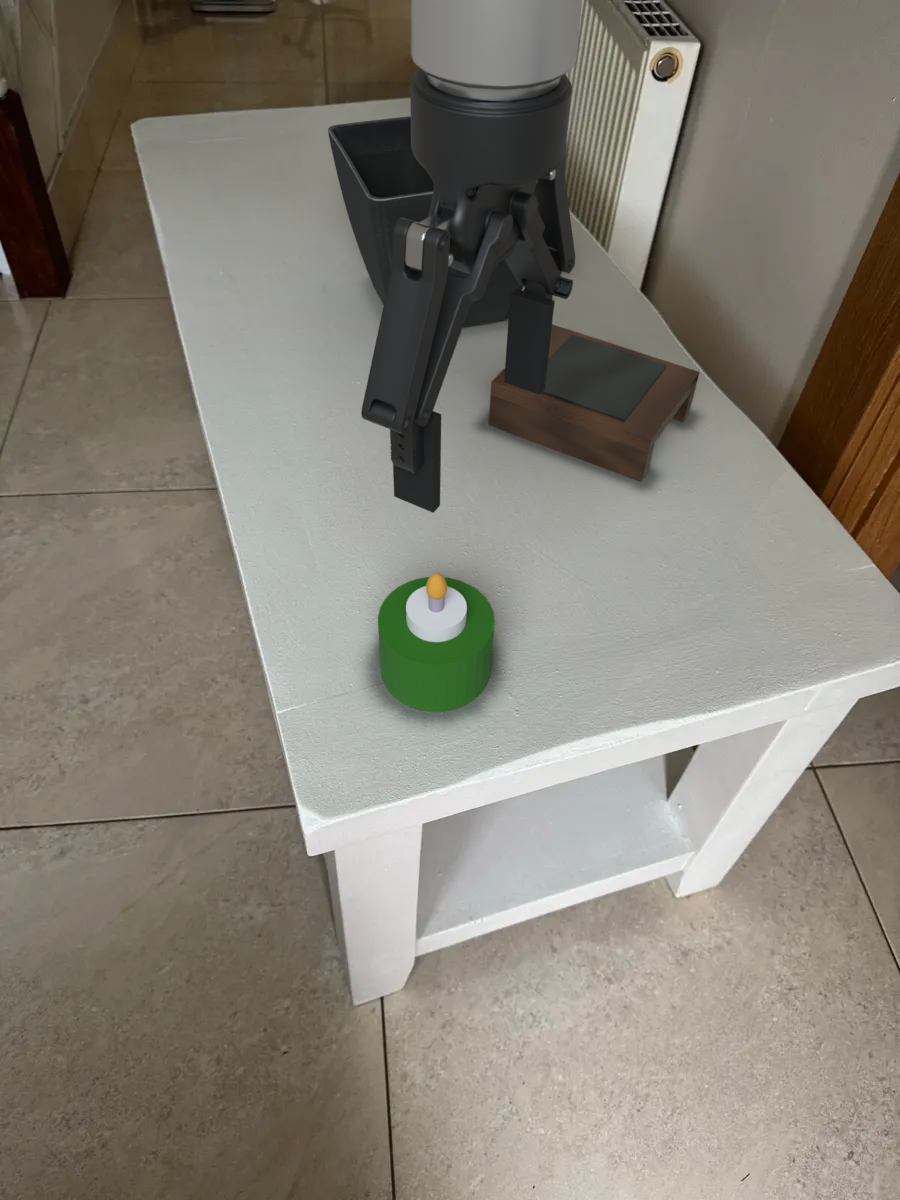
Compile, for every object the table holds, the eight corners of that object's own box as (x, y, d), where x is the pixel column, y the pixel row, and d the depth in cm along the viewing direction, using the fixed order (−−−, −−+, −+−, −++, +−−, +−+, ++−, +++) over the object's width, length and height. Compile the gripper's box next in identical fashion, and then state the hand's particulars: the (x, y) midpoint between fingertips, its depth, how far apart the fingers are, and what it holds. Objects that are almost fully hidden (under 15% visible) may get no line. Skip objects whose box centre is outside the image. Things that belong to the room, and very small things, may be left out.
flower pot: (336, 272, 109) (324, 121, 97) (488, 250, 113) (496, 103, 101) (377, 359, 97) (370, 200, 85) (546, 332, 101) (562, 176, 89)
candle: (511, 657, 71) (521, 565, 63) (448, 730, 66) (450, 641, 59) (424, 609, 74) (424, 516, 66) (358, 675, 69) (349, 584, 62)
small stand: (688, 414, 92) (700, 369, 88) (641, 482, 85) (651, 436, 81) (543, 365, 97) (548, 320, 93) (488, 425, 90) (491, 379, 86)
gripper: (541, -11, 51) (514, 330, 67) (255, 145, 37) (307, 534, 52) (669, 13, 49) (610, 362, 64) (417, 191, 34) (420, 585, 50)
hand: (474, 440), depth 58 cm, fingers open, 13 cm apart
